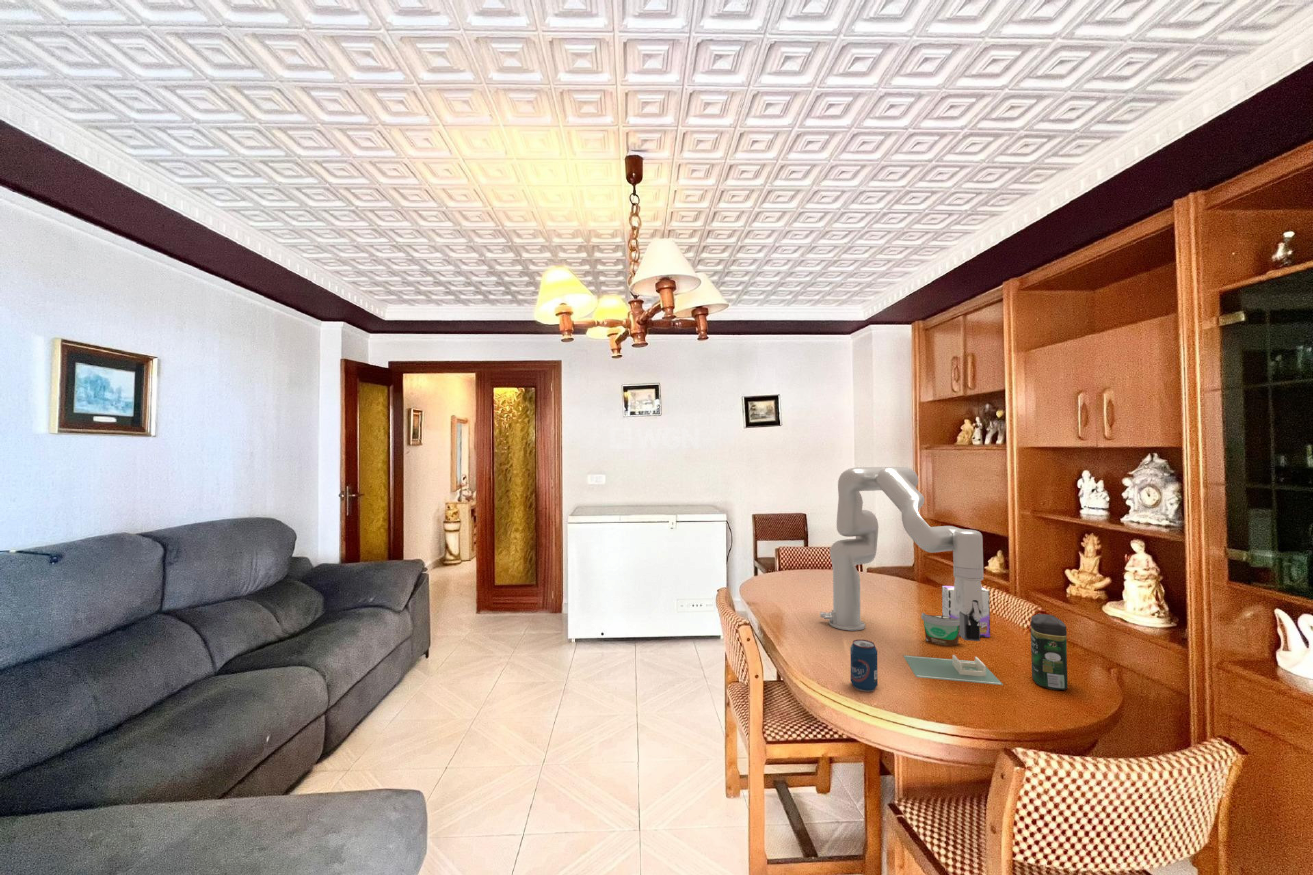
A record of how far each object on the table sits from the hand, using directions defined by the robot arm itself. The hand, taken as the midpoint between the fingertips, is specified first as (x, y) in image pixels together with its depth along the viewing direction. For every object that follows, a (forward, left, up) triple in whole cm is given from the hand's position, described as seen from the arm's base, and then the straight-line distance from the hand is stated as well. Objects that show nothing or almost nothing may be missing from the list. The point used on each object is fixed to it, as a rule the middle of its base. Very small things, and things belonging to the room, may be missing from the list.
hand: (969, 635), depth 153 cm
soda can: (-31, -15, -12) cm, 36 cm away
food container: (-1, +22, -12) cm, 25 cm away
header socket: (0, 0, -10) cm, 10 cm away
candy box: (+11, +37, -12) cm, 41 cm away
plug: (0, 0, -1) cm, 1 cm away
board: (-5, 0, -11) cm, 13 cm away
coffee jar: (+20, -1, -12) cm, 23 cm away
